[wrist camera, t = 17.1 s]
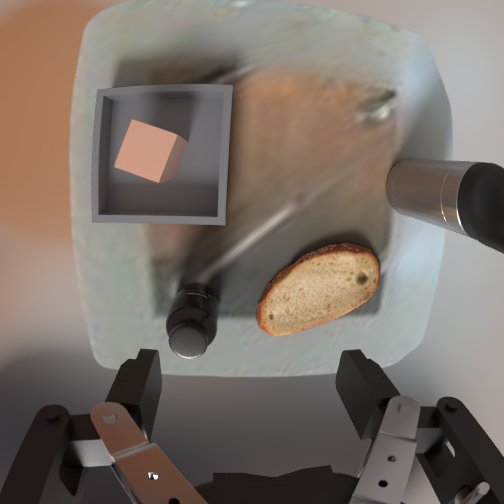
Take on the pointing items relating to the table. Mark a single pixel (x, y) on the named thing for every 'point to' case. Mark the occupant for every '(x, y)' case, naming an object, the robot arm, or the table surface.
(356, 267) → the slice of bread
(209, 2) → the table surface
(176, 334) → the supplement bottle
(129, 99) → the charcoal bin
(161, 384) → the robot arm
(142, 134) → the salmon pink block
